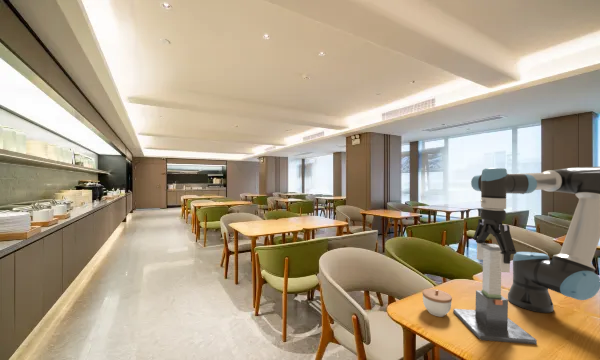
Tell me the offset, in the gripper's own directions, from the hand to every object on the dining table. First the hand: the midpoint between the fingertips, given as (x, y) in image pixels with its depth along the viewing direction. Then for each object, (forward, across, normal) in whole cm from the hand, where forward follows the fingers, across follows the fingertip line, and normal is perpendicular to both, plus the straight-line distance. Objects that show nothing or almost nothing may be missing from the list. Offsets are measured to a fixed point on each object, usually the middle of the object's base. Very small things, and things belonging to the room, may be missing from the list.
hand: (491, 265), depth 94 cm
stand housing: (+23, 0, 0) cm, 23 cm away
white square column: (+14, 0, 0) cm, 14 cm away
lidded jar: (+23, -8, -16) cm, 30 cm away
